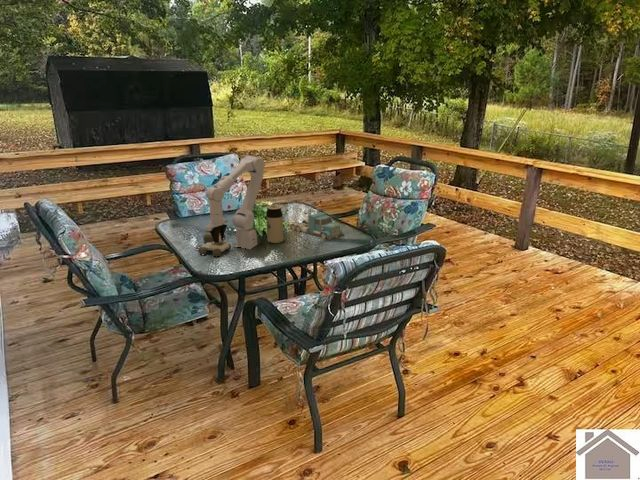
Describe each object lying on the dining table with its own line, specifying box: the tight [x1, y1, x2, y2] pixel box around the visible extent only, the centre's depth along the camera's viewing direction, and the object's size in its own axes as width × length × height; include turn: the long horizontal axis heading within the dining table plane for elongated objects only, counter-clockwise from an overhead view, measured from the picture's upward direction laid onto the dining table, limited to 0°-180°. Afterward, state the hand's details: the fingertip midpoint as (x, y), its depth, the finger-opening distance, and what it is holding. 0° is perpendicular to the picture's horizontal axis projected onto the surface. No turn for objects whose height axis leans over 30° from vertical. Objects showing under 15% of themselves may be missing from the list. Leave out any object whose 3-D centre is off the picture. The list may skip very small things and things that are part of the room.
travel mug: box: [265, 204, 284, 244], centre depth 236 cm, size 8×8×18 cm
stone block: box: [203, 230, 226, 245], centre depth 238 cm, size 9×14×5 cm, turn 5°
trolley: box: [194, 240, 232, 257], centre depth 223 cm, size 17×10×5 cm, turn 68°
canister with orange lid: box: [215, 232, 222, 246], centre depth 220 cm, size 3×3×6 cm
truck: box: [289, 206, 345, 241], centre depth 250 cm, size 12×29×15 cm, turn 46°
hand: (218, 241), depth 220 cm, fingers closed on canister with orange lid, 3 cm apart
